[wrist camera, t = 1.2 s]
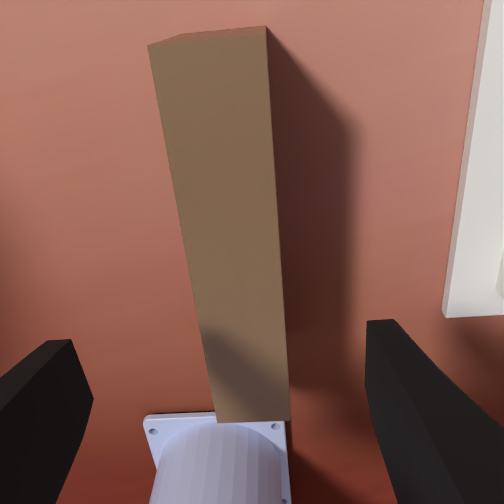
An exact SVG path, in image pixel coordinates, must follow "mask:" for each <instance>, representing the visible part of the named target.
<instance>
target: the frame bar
mask: <svg viewBox="0 0 504 504" xmlns="http://www.w3.org/2000/svg"><path fill="white" fill-rule="evenodd" d="M147 47H148V52H149V57H150V63H151V68H152V74H153V79H154V84H155V90H156V95H157V101H158V106H159V111H160V117H161V122H162V128H163V133H164V138H165V144H166V149H167V155H168V160H169V165H170V171H171V176H172V182H173V187H174V192H175V198H176V203H177V209H178V214H179V219H180V225H181V230H182V236H183V241H184V246H185V252H186V257H187V263H188V268H189V273H190V279H191V284H192V290H193V295H194V301H195V306H196V311H197V317H198V322H199V328H200V333H201V338H202V344H203V349H204V355H205V360H206V365H207V371H208V376H209V382H210V387H211V392H212V398H213V403H214V409H215V414H216V419H217V423H243V422H271V421H291V408H290V390H289V373H288V356H287V338H286V323H285V308H284V292H283V277H282V262H281V247H280V232H279V217H278V202H277V186H276V171H275V156H274V141H273V126H272V111H271V95H270V80H269V65H268V50H267V35H266V26H257V27H246V28H236V29H226V30H216V31H206V32H196V33H186V34H180V35H177V36H174V37H171V38H168V39H165V40H162V41H159V42H156V43H153V44H150V45H147Z"/></svg>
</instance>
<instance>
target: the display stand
mask: <svg viewBox="0 0 504 504" xmlns="http://www.w3.org/2000/svg"><path fill="white" fill-rule="evenodd" d="M442 312H443V314H444V316H445V317H446V318H454V317H471V316H489V315H504V0H484V6H483V13H482V20H481V28H480V35H479V42H478V49H477V57H476V64H475V71H474V78H473V86H472V93H471V100H470V107H469V114H468V122H467V129H466V136H465V143H464V151H463V158H462V165H461V172H460V180H459V187H458V194H457V201H456V209H455V216H454V223H453V230H452V237H451V245H450V252H449V259H448V266H447V274H446V281H445V288H444V295H443V303H442Z"/></svg>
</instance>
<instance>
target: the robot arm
mask: <svg viewBox="0 0 504 504" xmlns="http://www.w3.org/2000/svg"><path fill="white" fill-rule="evenodd" d="M365 388H366V393H367V398H368V403H369V408H370V413H371V418H372V423H373V427H374V430H375V433H376V436H377V439H378V443H379V446H380V449H381V452H382V455H383V458H384V461H385V465H386V468H387V471H388V474H389V477H390V480H391V483H392V486H393V489H394V492H395V496H396V499H397V502H398V504H504V428H503V427H502V426H501V425H499V424H498V423H497V422H496V421H495V420H494V419H492V418H491V417H490V416H489V415H488V414H487V413H486V412H485V411H483V410H482V409H481V408H480V407H479V406H478V405H477V404H476V403H474V402H473V401H472V400H471V399H470V398H469V397H468V396H467V395H466V394H465V393H464V392H463V391H462V390H461V389H460V388H458V387H457V386H456V385H455V384H454V383H453V382H452V381H451V380H450V379H449V378H448V377H447V376H446V375H445V374H444V373H443V372H442V371H441V370H440V369H439V368H438V367H437V366H436V365H435V364H434V362H433V361H432V360H431V359H430V358H429V357H428V356H427V355H426V354H425V353H424V352H423V351H422V350H421V349H420V348H419V346H418V345H417V344H416V343H415V342H414V341H413V340H412V339H411V338H410V336H409V335H408V334H407V333H406V332H405V331H404V330H403V328H402V327H401V326H400V325H399V324H398V323H397V322H396V321H395V320H394V319H386V320H370V321H367V330H366V363H365ZM93 400H94V398H93V395H92V393H91V390H90V387H89V385H88V382H87V379H86V377H85V374H84V372H83V369H82V366H81V364H80V361H79V359H78V356H77V353H76V351H75V348H74V345H73V343H72V340H71V339H65V340H49V341H46V342H45V343H43V344H42V345H41V346H39V347H38V348H37V349H35V350H34V351H33V352H32V353H30V354H29V355H28V356H27V357H25V358H24V359H23V360H22V361H20V362H19V363H18V364H17V365H15V366H14V367H13V368H12V369H11V370H9V371H8V372H7V373H6V374H4V375H3V376H2V377H1V378H0V504H55V503H56V501H57V499H58V496H59V494H60V492H61V489H62V487H63V485H64V482H65V480H66V478H67V475H68V473H69V471H70V468H71V466H72V463H73V461H74V459H75V456H76V454H77V451H78V449H79V447H80V444H81V442H82V439H83V436H84V433H85V429H86V426H87V422H88V419H89V415H90V411H91V407H92V403H93ZM275 423H276V424H275ZM143 427H144V430H145V433H146V436H147V440H148V443H149V446H150V449H151V452H152V456H153V459H154V462H155V465H156V468H157V473H156V477H155V481H154V486H153V490H152V494H151V499H150V503H149V504H291V493H290V481H289V469H288V458H287V446H286V434H285V423H284V421H271V422H243V423H217V419H216V414H215V412H198V413H176V414H153V415H148V416H146V417H145V418H144V422H143Z"/></svg>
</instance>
